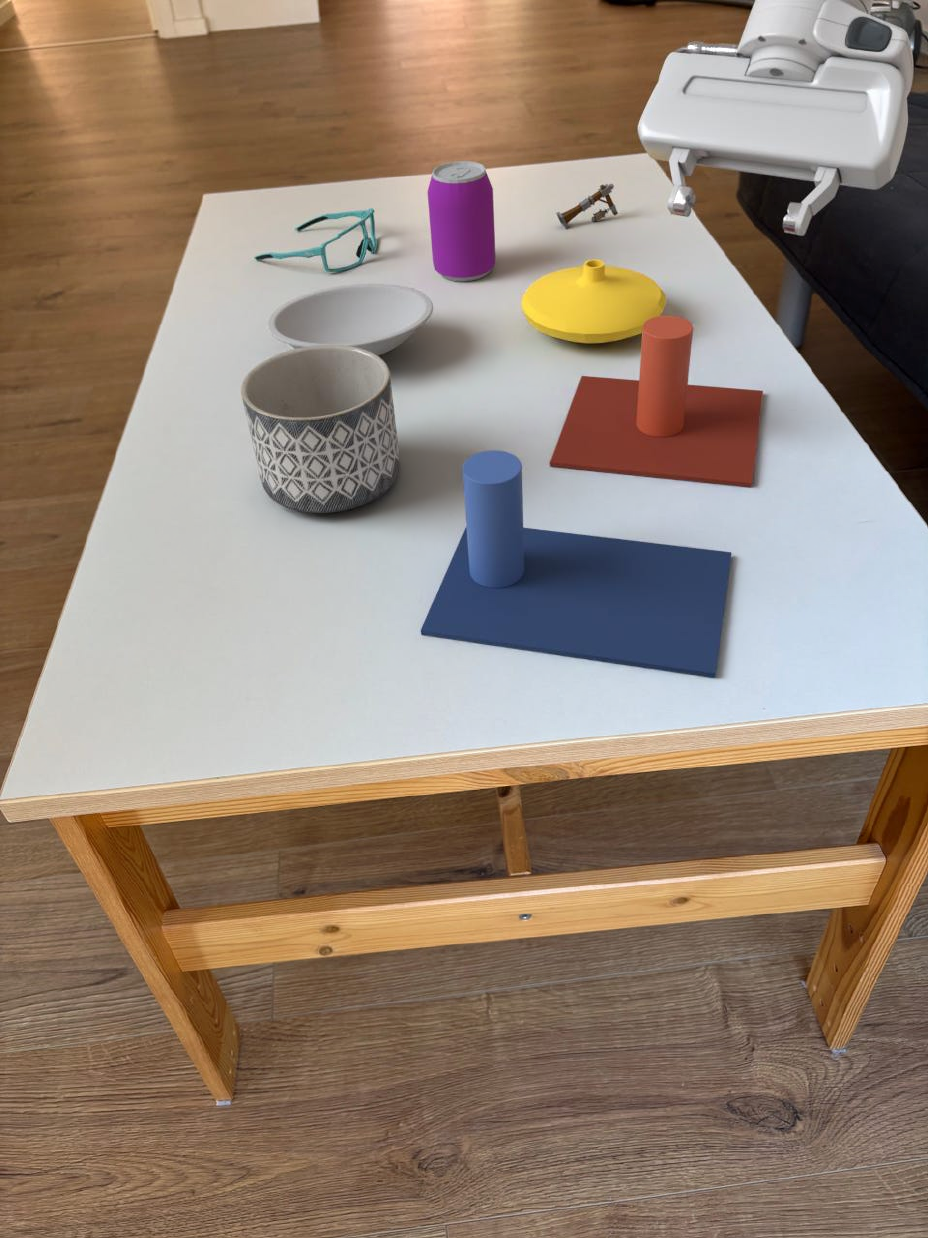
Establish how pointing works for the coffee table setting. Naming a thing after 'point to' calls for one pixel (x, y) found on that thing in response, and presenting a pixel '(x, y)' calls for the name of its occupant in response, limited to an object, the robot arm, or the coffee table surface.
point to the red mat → (700, 452)
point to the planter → (323, 427)
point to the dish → (352, 317)
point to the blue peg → (494, 518)
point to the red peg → (664, 375)
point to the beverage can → (461, 221)
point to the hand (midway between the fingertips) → (733, 221)
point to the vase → (592, 303)
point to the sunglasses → (361, 251)
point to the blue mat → (594, 602)
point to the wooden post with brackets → (587, 203)
